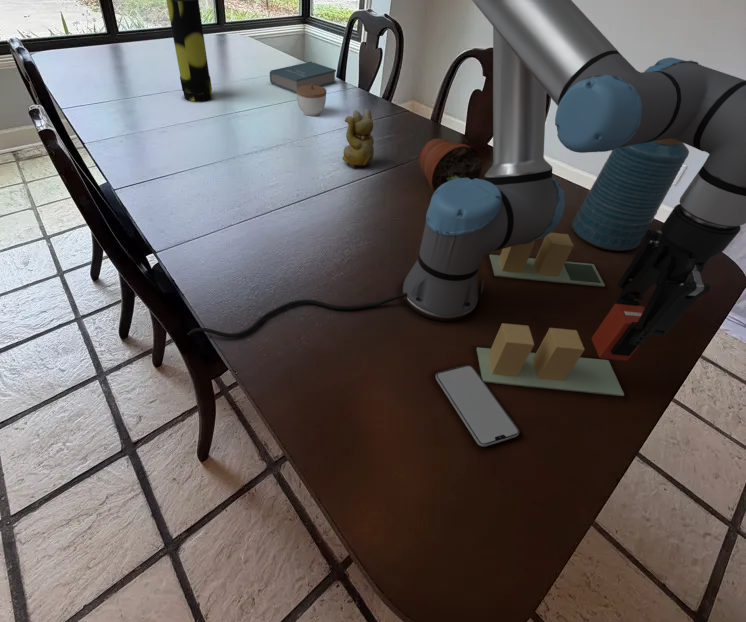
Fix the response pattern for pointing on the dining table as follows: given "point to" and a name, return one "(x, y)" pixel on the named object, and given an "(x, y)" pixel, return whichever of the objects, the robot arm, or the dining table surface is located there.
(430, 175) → the potted plant
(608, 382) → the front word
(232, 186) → the dining table surface
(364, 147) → the decorative figurine
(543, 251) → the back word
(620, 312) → the red slotted block
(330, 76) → the book
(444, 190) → the robot arm
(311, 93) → the trinket box
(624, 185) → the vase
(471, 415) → the smartphone
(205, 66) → the container
